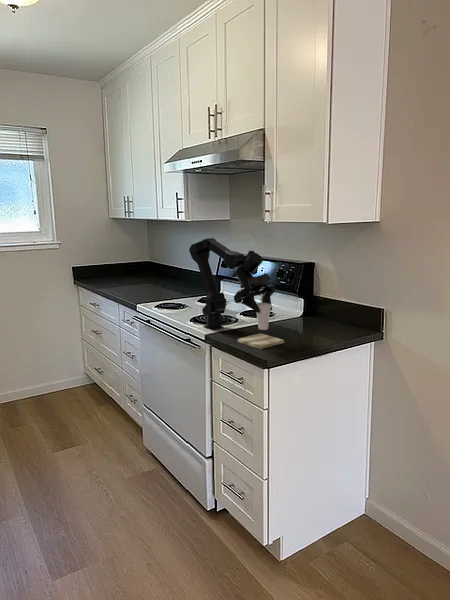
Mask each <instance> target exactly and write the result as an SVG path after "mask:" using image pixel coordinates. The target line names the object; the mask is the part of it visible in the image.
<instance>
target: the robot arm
mask: <svg viewBox="0 0 450 600" xmlns="http://www.w3.org/2000/svg"><path fill="white" fill-rule="evenodd" d="M188 251H189V255H190V256H191V259H192V260H193V261H194V262H195V264H197V267H198V270H199V273H200V277H201V279H202V282H203V285H204V289H205V292H206V296H205V305H204V306H203V308H202V310H201V311H202V315H204V316H205V317H206V325H203V328H206V329H210V330H213V331H214V330H217V329H223V328H224V325H222V318H221V317H222V314H225V311H226V307H227V299H226V298H225V293H224V292H220V291H219V290H218V287H217V284H216V282H215V281H216V280H215V278H214V275H213V272H212V268H211V266H210V262H209V259H210V253H211V252H212V253H214V254H215V255H217V257H219V258H221V259H222V260H223V263H224V264H225V265H226V266H227V268H228V269H236V270H233V272H232V278H237V279H238V281H239V282H240V286H239V287H240V288H241V289H239V290H238V291H237V292H236V293H235V294H234V295H233V300H234V303H236V304H243V305H245V306H246V307H248V308H250V309H251V310H252V311H255V313H256V312H257V313H260V309H259V307H258V305H257V303H258V302H257V301H256V299H255V297H257V296H259V297H261V294H262V303H269V304H271V308H270V312H272V311H273V305H272V300H271V296H272V295H273V294H274V293H275V292H276V291H277V287H276V286H275V285H273V284H271V285H269V283H270V282H269V281H271V276H270V275H269V274H268V272H267V273H263V274H261V275H257V276H254V275H253V274H252V273H254V272H255V271H257V269H258V268H259V267H260V265H261V264H262V263H263V262H264V261H263V260H264V259H263V257H262V256H261V255H260V254H259V253H257V252H255V251H254V250H249V251H248V252H247V254H246V255H244V253H241V252H238V251H235V250H232V249H229V248H228V247H226V245H223V244H222V243H221V242H219V241H217V239H215V238H213V237H207V238H204V239H202V240H200V241H198V242H195V243H191V245H190V247H189V249H188ZM265 284H268V285H265ZM264 285H265V286H264ZM263 287H264V288H263ZM262 288H263V289H262ZM259 301H260V302H261V299H259ZM257 313H256V314H257Z"/></svg>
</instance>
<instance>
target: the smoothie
mask: <svg viewBox="0 0 450 600" xmlns="http://www.w3.org/2000/svg"><path fill="white" fill-rule="evenodd" d="M260 300H261V301H260V302H256V303H257V305H258V307H259V309H260V313H257V312H256V311H255V313H256V318H257V319H256V320H257V327H258V330H262V331H264V330H265V331H266V330H268V329H269V323H270V314H271V311H270V308H271V305H272V303H271V304H269V303H262V294H261V296H260Z"/></svg>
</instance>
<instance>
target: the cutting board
mask: <svg viewBox="0 0 450 600" xmlns="http://www.w3.org/2000/svg"><path fill="white" fill-rule="evenodd" d="M236 342H237V343H240V344H242V345H247V346H249V347H253V348H256V349H259V350H263V349H267V348H271V347H274V346H277V345H281V344H284V343H285V340H284V339H282V338H279V337H275V336H272V335H267V334H264V333H261V332H260V333H259V332H258V333H256V334H253V335H252V334H251V335H248V336H244V337H239V338H237V341H236Z"/></svg>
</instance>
